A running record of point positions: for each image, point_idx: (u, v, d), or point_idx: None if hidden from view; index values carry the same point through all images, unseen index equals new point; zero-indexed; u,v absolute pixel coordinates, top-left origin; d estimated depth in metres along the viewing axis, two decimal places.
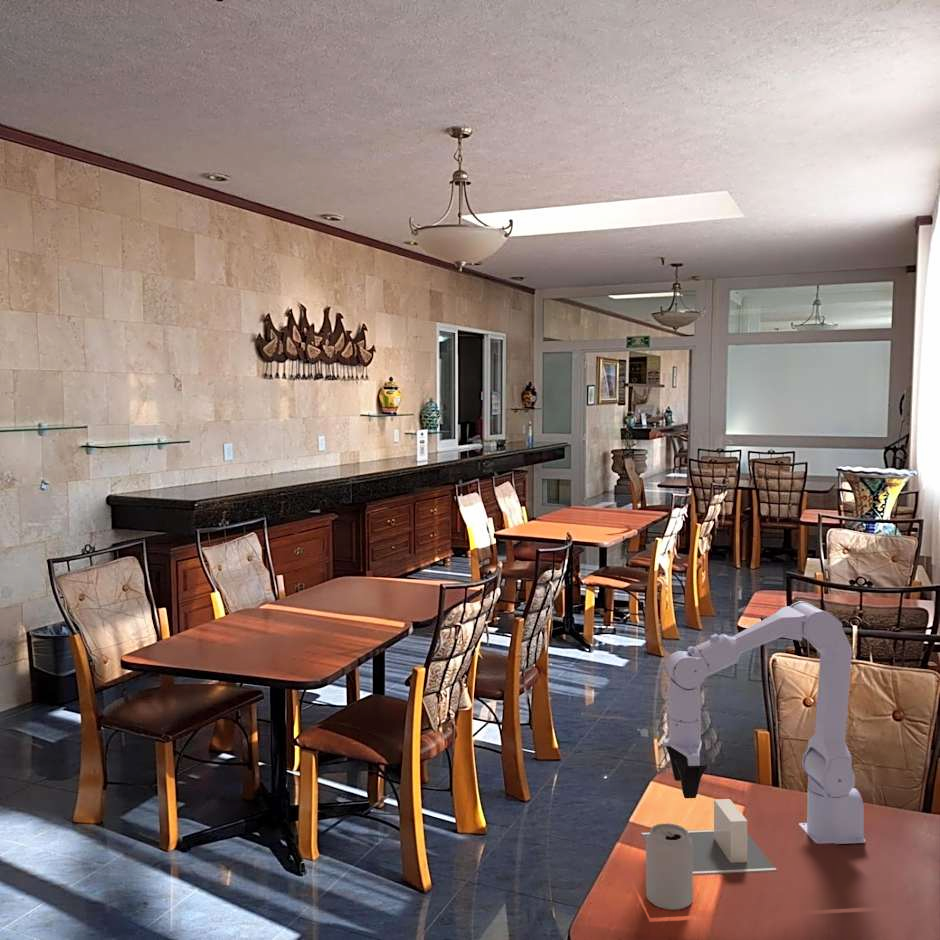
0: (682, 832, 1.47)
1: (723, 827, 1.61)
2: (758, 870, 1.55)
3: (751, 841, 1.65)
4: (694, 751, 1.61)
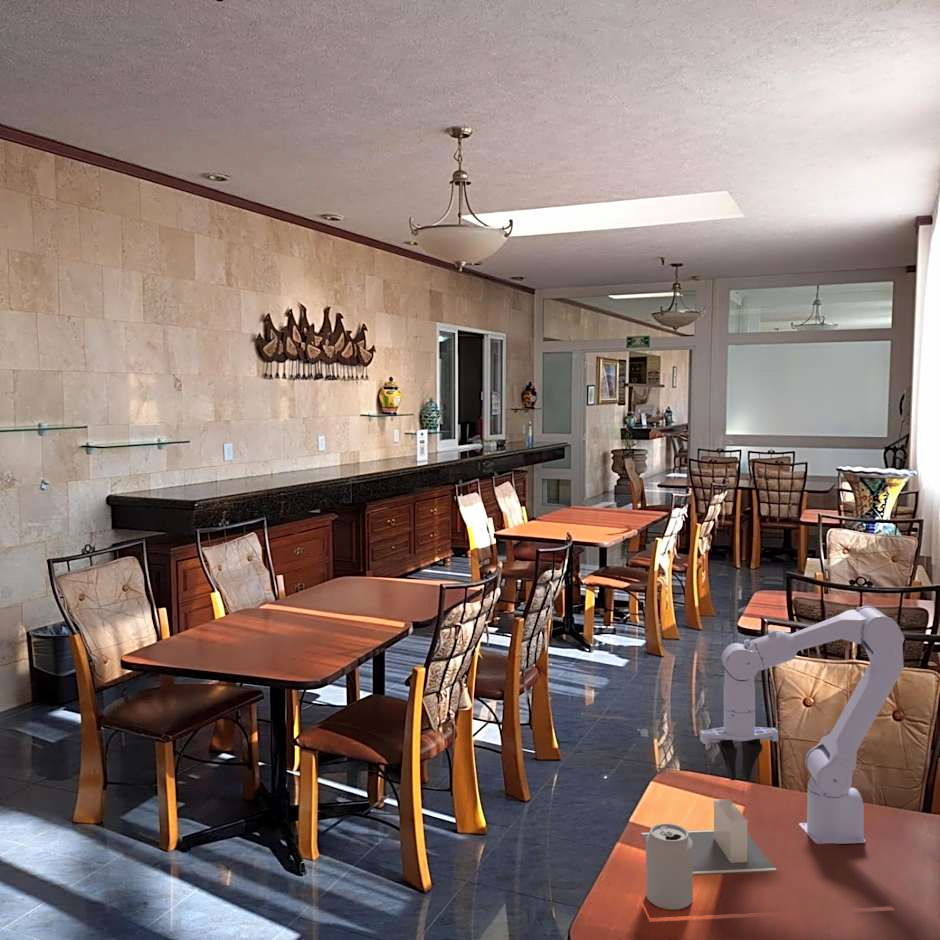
0: (682, 832, 1.47)
1: (723, 827, 1.61)
2: (758, 870, 1.55)
3: (751, 841, 1.65)
4: (715, 734, 1.68)
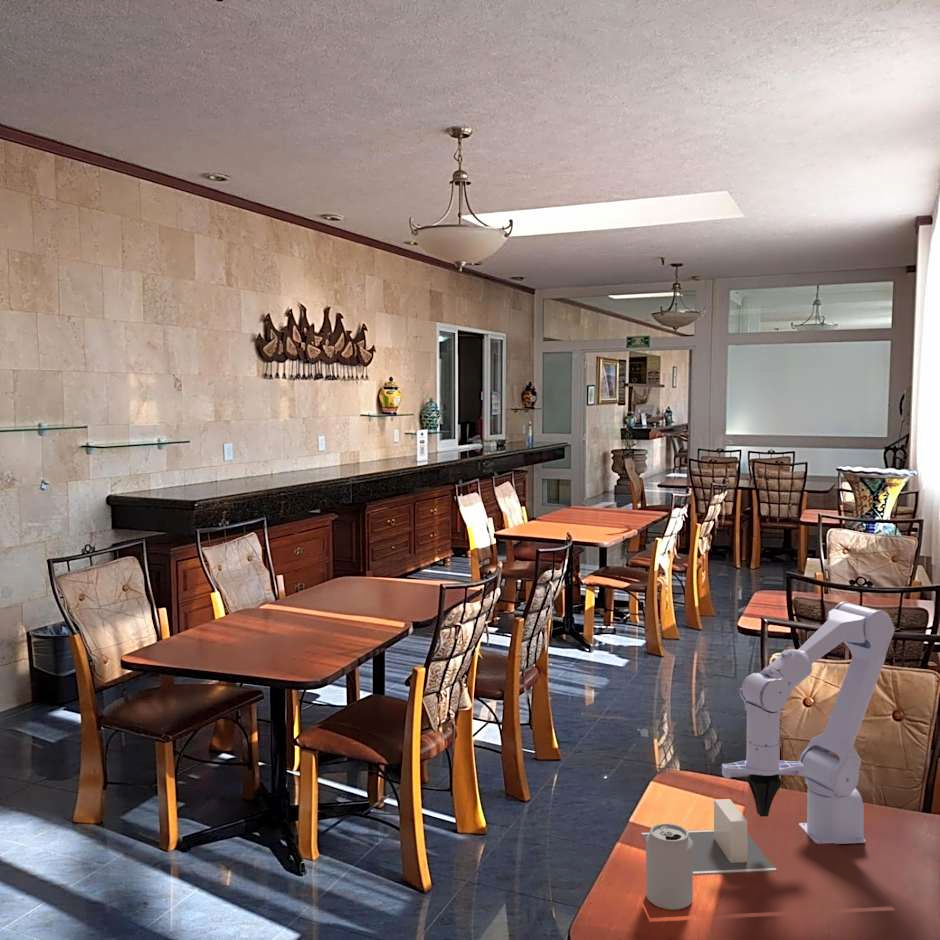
0: (682, 832, 1.47)
1: (723, 827, 1.61)
2: (758, 870, 1.55)
3: (751, 841, 1.65)
4: (738, 768, 1.61)
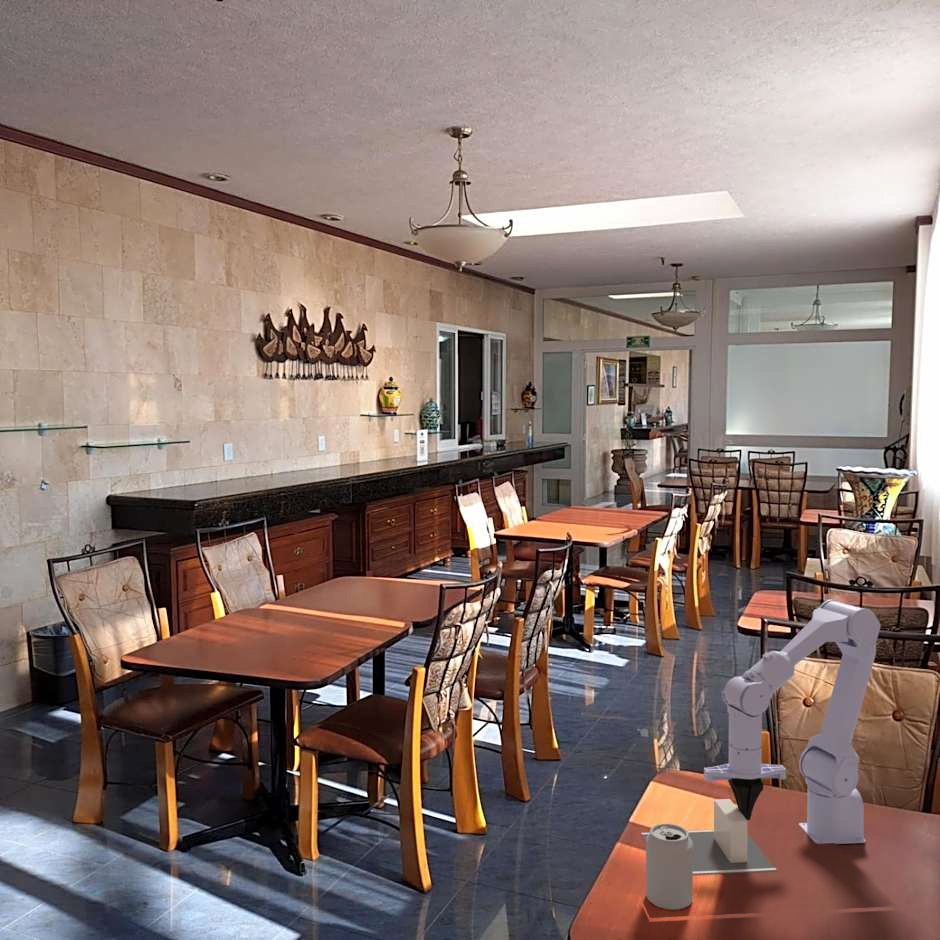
0: (682, 832, 1.47)
1: (723, 827, 1.61)
2: (758, 870, 1.55)
3: (751, 841, 1.65)
4: (720, 772, 1.61)
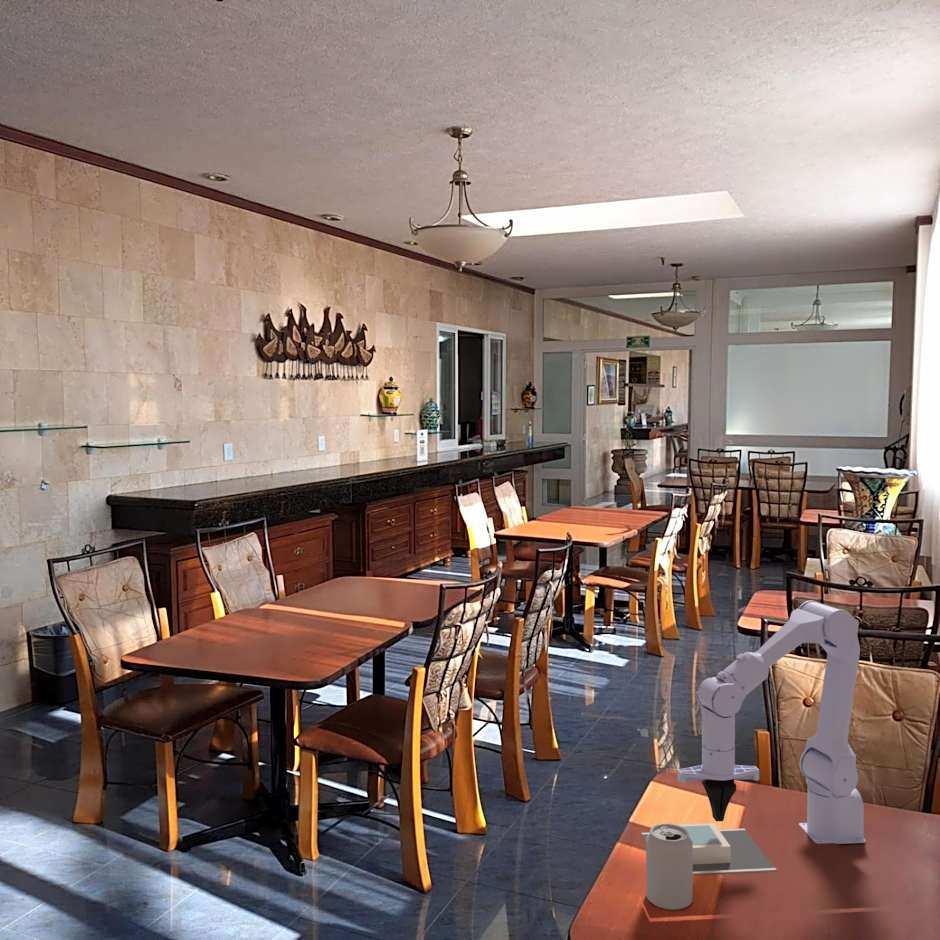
0: (682, 832, 1.47)
1: None
2: (758, 870, 1.55)
3: (751, 841, 1.65)
4: (693, 773, 1.60)
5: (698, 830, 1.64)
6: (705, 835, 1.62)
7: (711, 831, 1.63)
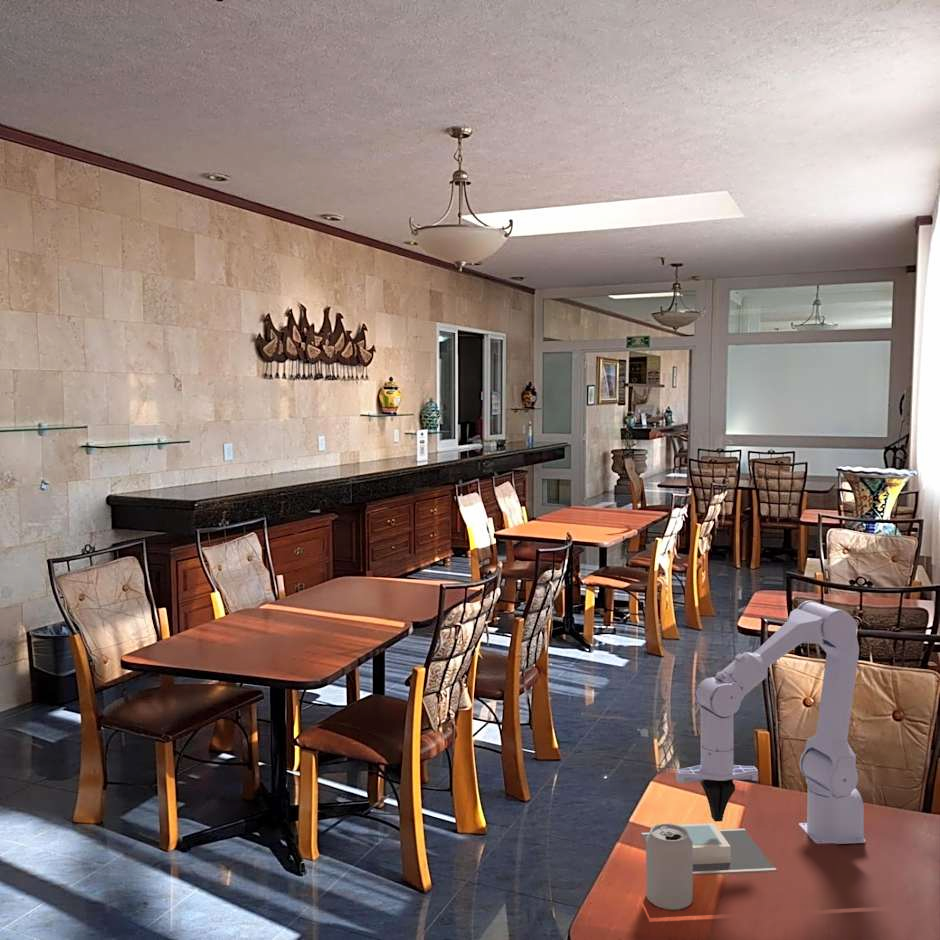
0: (682, 832, 1.47)
1: None
2: (758, 870, 1.55)
3: (751, 841, 1.65)
4: (692, 773, 1.60)
5: (698, 830, 1.64)
6: (705, 835, 1.62)
7: (711, 831, 1.63)
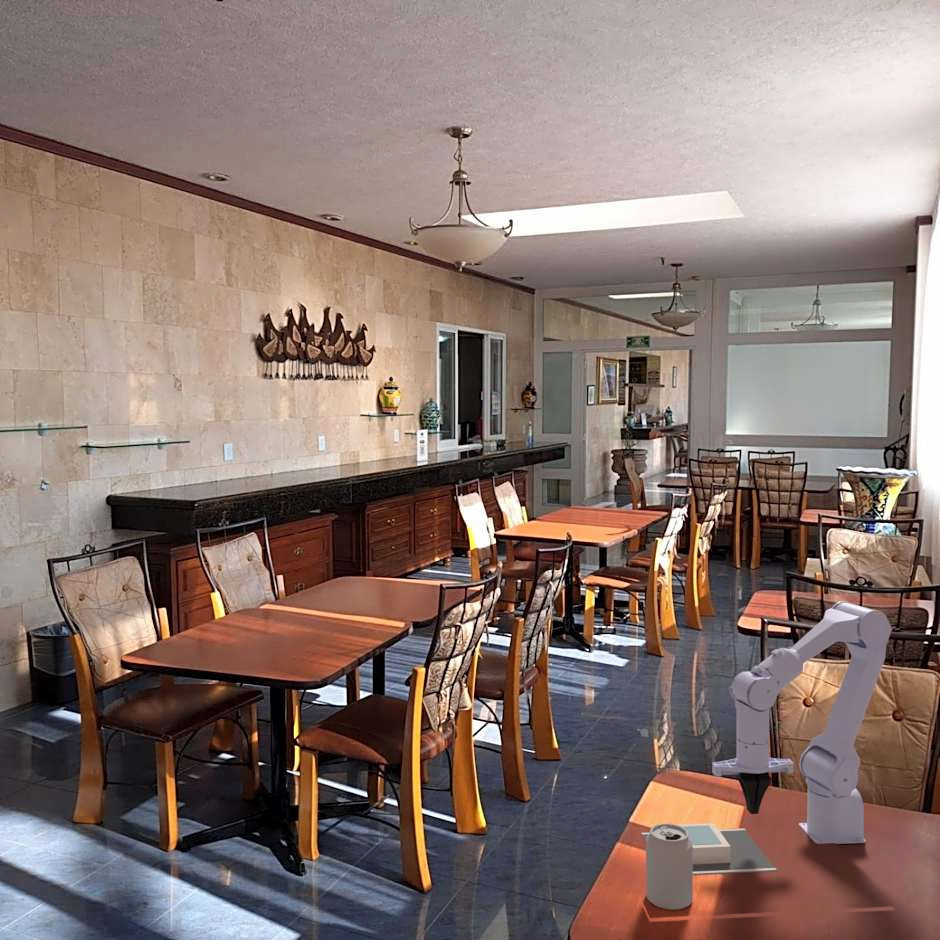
0: (682, 832, 1.47)
1: None
2: (758, 870, 1.55)
3: (751, 841, 1.65)
4: (728, 766, 1.62)
5: (698, 830, 1.64)
6: (705, 835, 1.62)
7: (711, 831, 1.63)
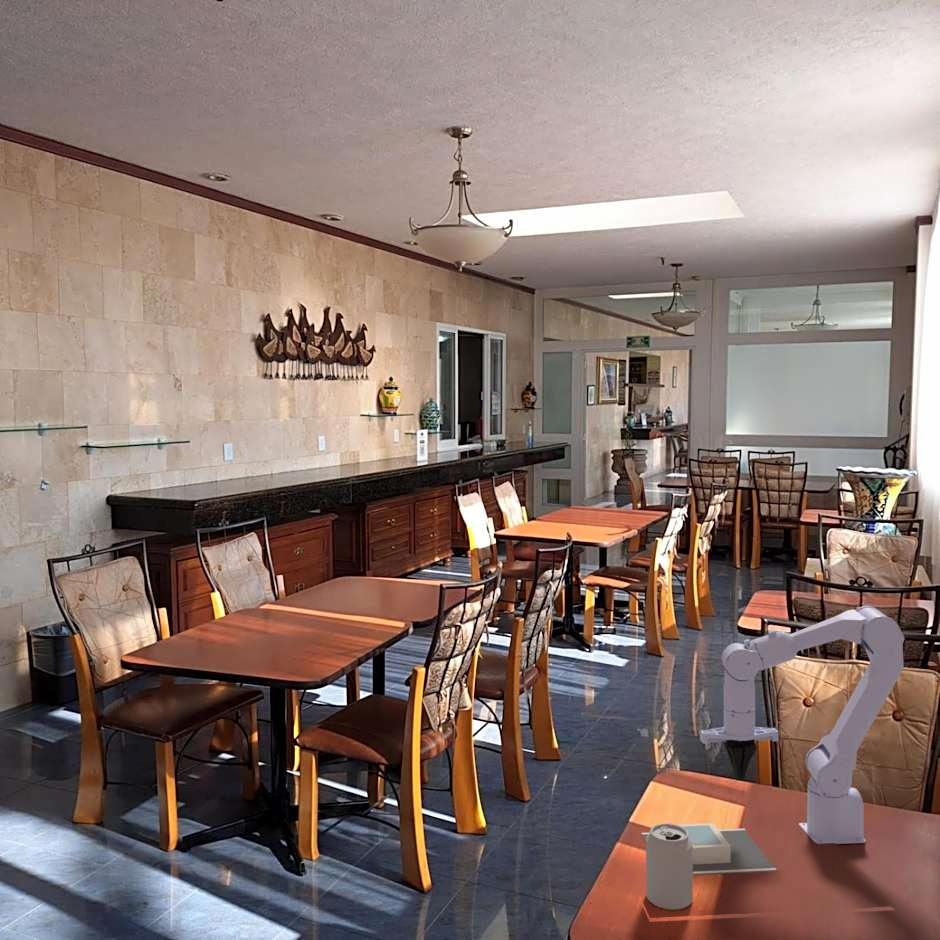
0: (682, 832, 1.47)
1: None
2: (758, 870, 1.55)
3: (751, 841, 1.65)
4: (715, 734, 1.68)
5: (698, 830, 1.64)
6: (705, 835, 1.62)
7: (711, 831, 1.63)
